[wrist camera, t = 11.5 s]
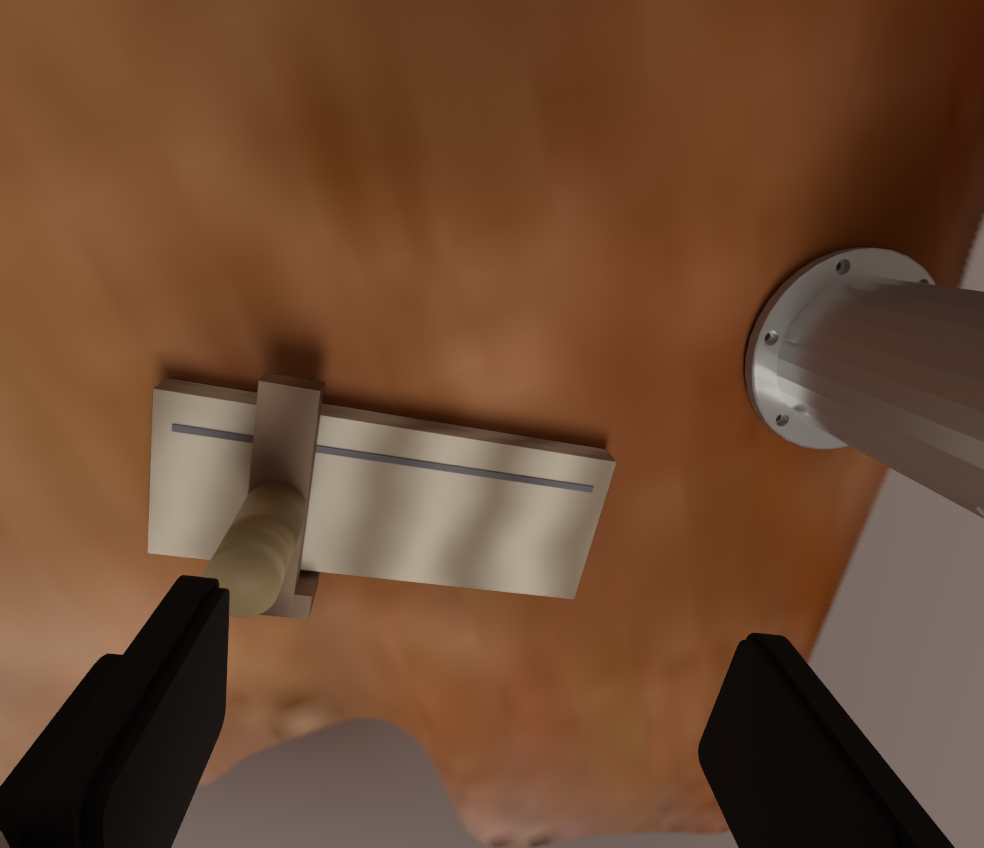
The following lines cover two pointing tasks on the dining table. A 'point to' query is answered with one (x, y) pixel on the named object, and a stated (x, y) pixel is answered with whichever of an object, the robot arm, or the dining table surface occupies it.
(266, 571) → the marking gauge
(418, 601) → the dining table surface
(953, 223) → the dining table surface
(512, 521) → the birch board
